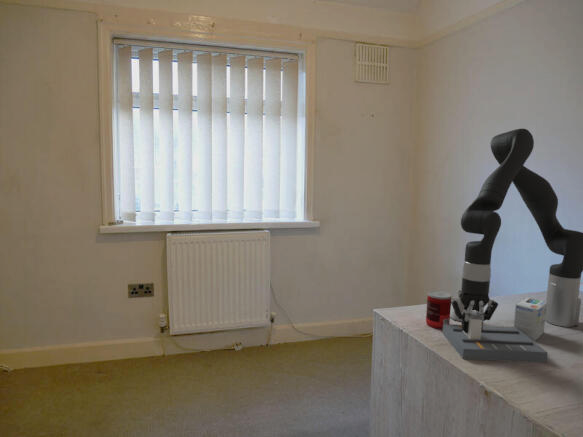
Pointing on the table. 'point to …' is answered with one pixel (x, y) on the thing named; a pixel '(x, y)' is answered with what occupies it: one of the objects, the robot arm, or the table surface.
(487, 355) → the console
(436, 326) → the canned food
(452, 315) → the flask
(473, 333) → the tall grey rectangular block
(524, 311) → the light bulb box
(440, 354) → the table surface
